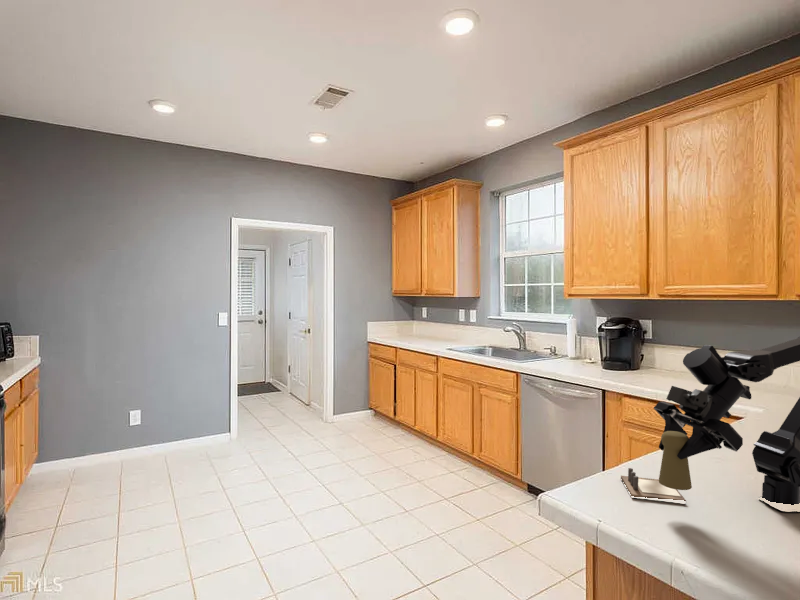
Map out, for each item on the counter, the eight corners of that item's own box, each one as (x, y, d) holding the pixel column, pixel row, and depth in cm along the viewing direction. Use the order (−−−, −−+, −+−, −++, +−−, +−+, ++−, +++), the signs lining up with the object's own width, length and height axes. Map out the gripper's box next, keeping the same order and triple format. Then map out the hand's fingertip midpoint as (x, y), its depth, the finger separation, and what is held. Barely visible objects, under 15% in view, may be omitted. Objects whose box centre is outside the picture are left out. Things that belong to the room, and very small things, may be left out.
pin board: (669, 484, 112) (669, 468, 112) (685, 504, 101) (686, 486, 101) (620, 479, 114) (621, 463, 114) (631, 498, 104) (632, 481, 104)
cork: (686, 479, 99) (686, 429, 98) (696, 491, 93) (696, 437, 93) (655, 476, 100) (655, 427, 100) (662, 488, 95) (663, 435, 94)
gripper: (661, 366, 106) (617, 415, 105) (730, 382, 87) (678, 442, 86) (691, 398, 107) (648, 447, 106) (766, 421, 89) (714, 481, 87)
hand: (669, 453), depth 96 cm, fingers closed on cork, 5 cm apart
